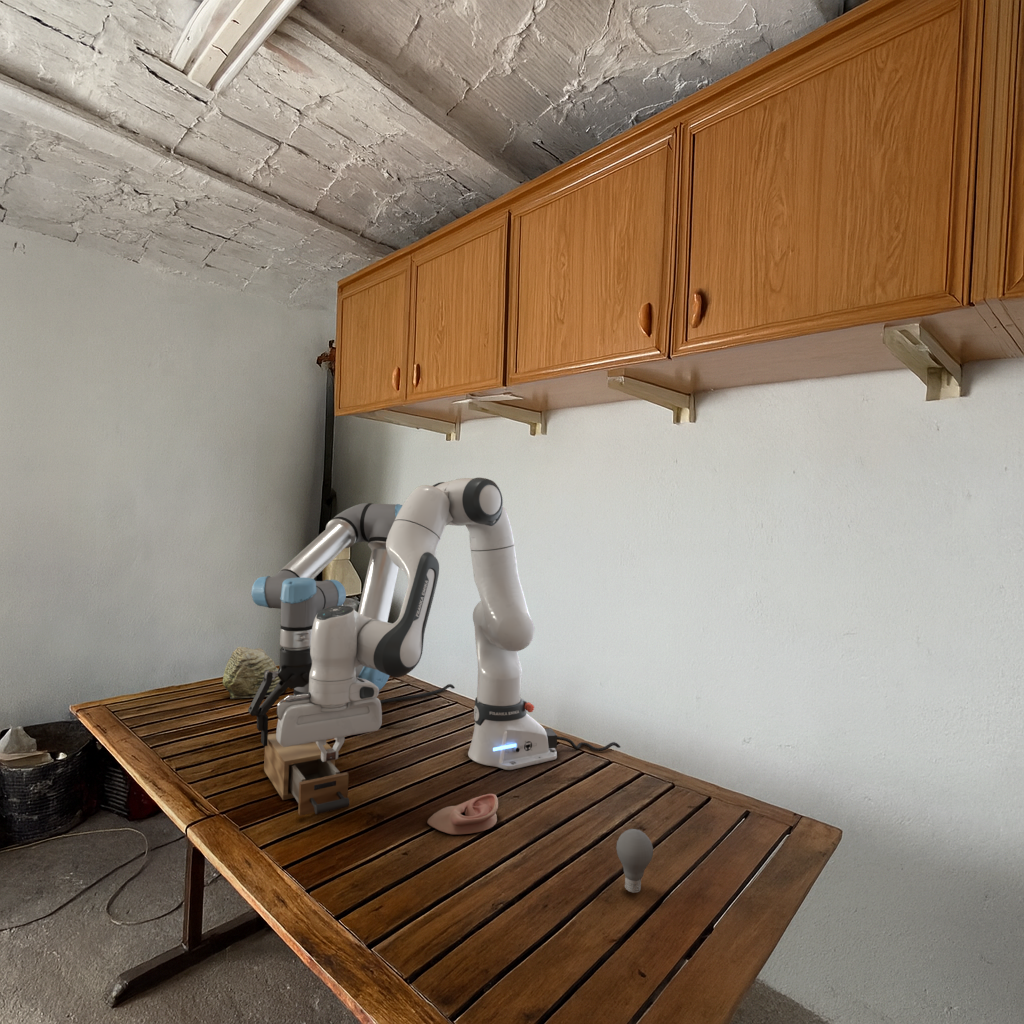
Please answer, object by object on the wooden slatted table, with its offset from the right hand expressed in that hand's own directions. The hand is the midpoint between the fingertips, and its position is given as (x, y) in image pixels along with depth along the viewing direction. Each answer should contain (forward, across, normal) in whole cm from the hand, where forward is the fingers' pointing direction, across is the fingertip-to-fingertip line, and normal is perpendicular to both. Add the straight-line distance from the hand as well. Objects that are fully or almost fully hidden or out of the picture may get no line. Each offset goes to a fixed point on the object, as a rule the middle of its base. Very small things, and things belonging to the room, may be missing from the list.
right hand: (329, 759), depth 125 cm
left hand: (+4, 0, +25) cm, 25 cm away
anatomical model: (+12, +23, -14) cm, 29 cm away
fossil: (+12, +5, +85) cm, 86 cm away
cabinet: (+12, 0, +20) cm, 23 cm away
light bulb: (+12, +36, -48) cm, 61 cm away
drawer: (+11, 0, +7) cm, 13 cm away
